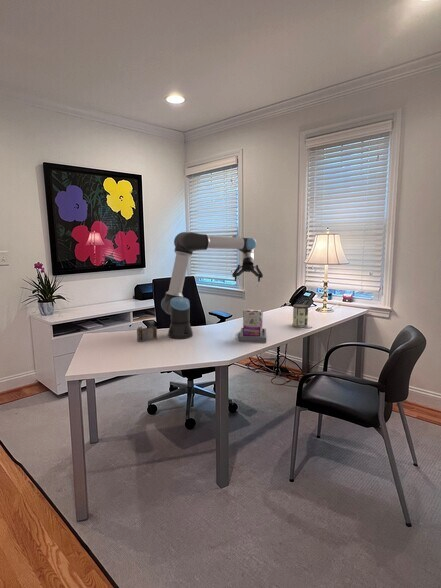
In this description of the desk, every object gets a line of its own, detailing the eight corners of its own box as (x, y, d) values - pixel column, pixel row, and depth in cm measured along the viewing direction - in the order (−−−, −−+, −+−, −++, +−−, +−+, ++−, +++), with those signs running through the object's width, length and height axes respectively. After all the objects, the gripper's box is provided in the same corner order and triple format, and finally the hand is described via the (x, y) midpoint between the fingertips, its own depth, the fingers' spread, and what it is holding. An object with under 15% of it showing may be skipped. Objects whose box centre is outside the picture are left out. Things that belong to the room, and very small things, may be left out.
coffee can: (301, 322, 253) (302, 303, 251) (310, 326, 244) (311, 306, 242) (289, 324, 250) (290, 304, 247) (297, 327, 240) (298, 307, 238)
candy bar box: (262, 336, 216) (263, 309, 214) (260, 338, 212) (260, 311, 209) (245, 334, 221) (245, 308, 218) (242, 336, 216) (243, 309, 213)
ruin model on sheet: (138, 343, 205) (138, 327, 203) (137, 341, 207) (136, 325, 206) (157, 340, 210) (157, 324, 209) (155, 339, 213) (155, 323, 211)
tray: (239, 341, 208) (239, 336, 208) (241, 332, 228) (241, 327, 227) (266, 342, 206) (266, 337, 206) (265, 333, 226) (266, 328, 225)
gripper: (266, 264, 245) (265, 288, 233) (230, 263, 248) (228, 288, 235) (266, 257, 239) (266, 281, 226) (230, 256, 242) (227, 281, 229)
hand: (247, 285), depth 231 cm, fingers open, 13 cm apart
